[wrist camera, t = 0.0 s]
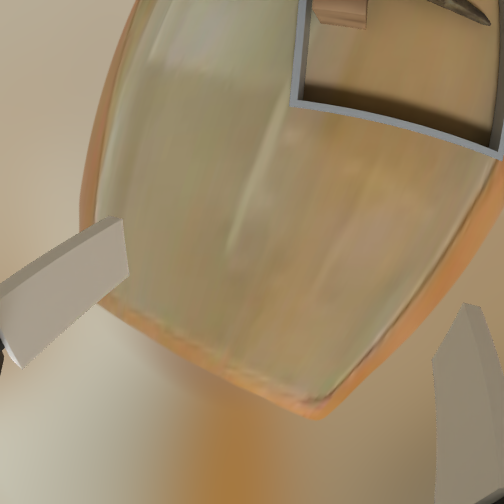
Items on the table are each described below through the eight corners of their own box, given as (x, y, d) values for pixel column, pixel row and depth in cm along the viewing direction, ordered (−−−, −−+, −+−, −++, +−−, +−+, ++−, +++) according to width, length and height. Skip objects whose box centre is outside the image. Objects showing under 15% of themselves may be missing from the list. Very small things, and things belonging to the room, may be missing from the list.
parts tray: (310, -76, 20) (304, -87, 17) (500, -31, 13) (508, -39, 11) (295, 106, 32) (289, 106, 30) (492, 156, 26) (502, 161, 24)
